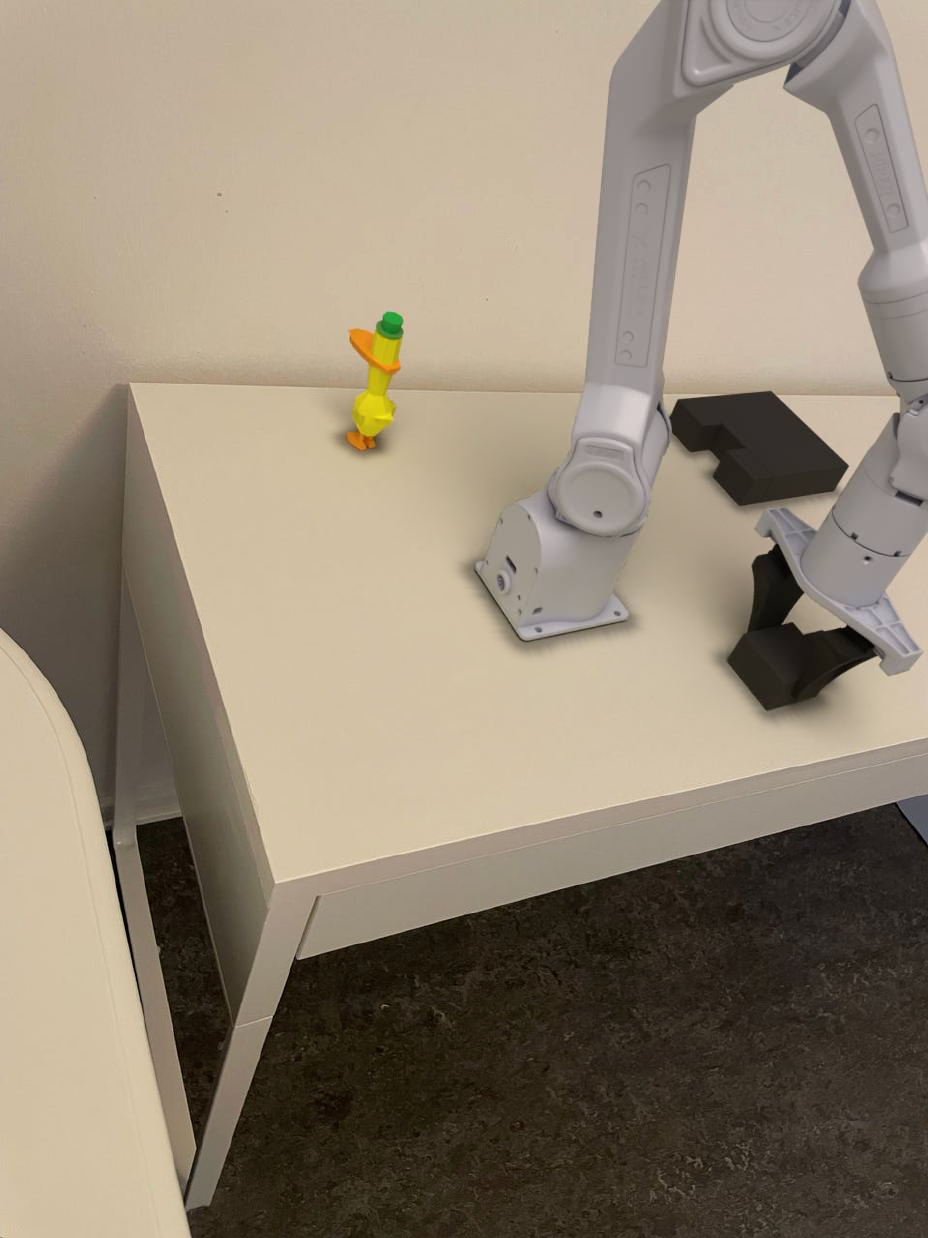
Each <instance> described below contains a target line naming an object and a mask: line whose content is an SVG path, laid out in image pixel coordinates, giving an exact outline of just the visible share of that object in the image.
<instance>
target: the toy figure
mask: <svg viewBox="0 0 928 1238" xmlns="http://www.w3.org/2000/svg"><path fill="white" fill-rule="evenodd" d="M404 323H405V321H404V318H403V316H402V315H400V313H397V312H395V311H386V312H385V313H383V314H382V319H380V320H379V321H377V323H376V325H375V329H374V331H373V333H372V331H370V330H366V329H361V328H357V327H355V328H350V329H347V331H348V333H349V343H350V344H351V346H352V348H353V349H354V350H355V351H356V352H357V354H358V355H359V356H360V357H361V358H362V359H363V360H364V361H366V363H368V370H367V388H366V389H365V390H364V391H363V392H361V393H360V394H359V395H358V396H356V397H355V398H354V401H353V407H352V412H351V413H350V416H351V418H352V419H353V421H354V424H355V426H356V427H357V431H356V432H355V431H349V432H347V433H346V439H347V441H348V442H349V444H351V445H352V446H353V447H355V448H356V449H358V450H360V451H361V452H362V451H365V450H367V447H368V448H369V449H372V448H376V443H375V440H374V437H375V436H377V435H378V434H379V433H381V432H382V431H383V430H384V429H385V428H387V427H388V426H389V425H390V424H392V423H393V422H394V421H395V419H394V418H393V417H394V415H395V412H396V410H397V406H396V404H395V402H394V401H393V399H391V400H390V398H389V397H388V394H387V391H388V389H389V386H390V384H391V381H392V378H393V375H396V374H397V373H398V372H399V371H400V370H401V368H402V365H401V362H400V358H399V356H400V351H401V346H402V343H403V342H402V341H403V337H404V333H405V332H404V331H405V330H404V328H403V327H402V326H403V324H404Z"/></svg>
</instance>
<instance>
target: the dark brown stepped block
mask: <svg viewBox="0 0 928 1238" xmlns="http://www.w3.org/2000/svg"><path fill="white" fill-rule="evenodd" d="M824 631H825V630H824V629H820V630H815V631H812V632H808V633H803V632H802V630H801V629H800V628H799V627H798V626H797V624H796V623H794V622H793V621H791V622H786V623H782V625H777V626H773V627H769V628H765V629H760V630H756V631H752V632H748V633H747V632H744V633H742V634H741V636H740V638H739V640H738V641H737V643H736V645H735V647H734V648H733V649H732V651H731V653H730V654H729V656H728V658H727V659H726V662H727V663H728V664H729V666H730V667H731V668H732V669H733V671H734V672H735V673H736V674H737V675H738V677H739V678H740V679H741V680H742V682H743V683H744V685H746V687H747V688H748V689H749V690H750V692H751V693H752V695H754V697H755V698H756V699H757V700H758V702H759V703H760V705H762V707H763V708H764V710H766V711H767V712H768V711H772V710H774V709H775V710H776V709H779V708H781V707H785V706H789V705H792V704H795V703H799V702H803V701H806V700H809V699H813V698H817V696H818V695H819V693H820V692H821V691H819V692H818V693H817V694H816V695H815V696H812V697H809V698H805V699H801V700H798V701H797V700H795V699H794V698H793V696H792V695H791V692H792V690H793V688H794V686H795V684H796V682H797V680H798V679H799V677H800V676H801V675H802V673H803V672H804V671H805V669H806V668H807V666H808V664H809V662H810V660H811V658H812V656H813V653H814V651H815V648H816V645H817V640H818V636H819V634H820V633H821V632H824Z"/></svg>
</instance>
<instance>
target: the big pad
mask: <svg viewBox="0 0 928 1238" xmlns="http://www.w3.org/2000/svg"><path fill="white" fill-rule="evenodd" d="M669 419H670V423H671V427H672V434H673V435H674V436H675V437H676V438H677V439H678V441H680V442H681V443H682V444H683V446H685V448H686V449H687V450H688V451H689V452H690V453H692V452H699V451H700V452H701V451H707V450H709V451H711V453H712V454H714V455H715V456H716V458H717V459H718V460H719V461H720V462H719V464H718V465H717V467H716V469H715V472H714V474H713V475H712V477H713V478H714V479H715V480H716V481H717V483H719V485H720V486H721V487H722V488H723V489H724V490H725V491H726V492H727V494H728V495H729V496H730V497H731V498H732V499H733V501H735V503H737V504H738V505H739V506H744V505H752V504H758V503H765V502H772V501H777V500H785V499H791V498H796V497H804V496H809V495H815V494H821V493H822V494H823V493H828V492H834V491H836V488H837V487H838V486H839V484H840V482H841V481H842V479H843V477H844V476H845V474H846V472H847V471H848V469H849V467H850V465H849V464H848V463H847V461H845V460H844V459H843V458H842V457H841V456H840V455H839V454H838V453H837V452H836V451H835V450H833V448H832V447H831V446H830V445H828V444H827V442H825V441H824V439H822V437H820V436H819V435H818V434H817V433H816V432H815V431H814V430H813V429H812V428H811V427H810V426H808V425H807V424H806V422H805V421H804V420H802V419H801V418H800V417H799V416H798V415H797V414H796V413H795V412H794V411H793V410H792V409H791V408H790V407H789V406H788V405H787V404H786V403H784V401H782V400H781V398H779V397H778V396H777V395H776V394H775V393H774V392H773V390H765V391H764V390H763V391H754V392H753V391H751V392H741V393H731V394H719V395H708V396H707V395H706V396H698V397H696V396H695V397H687V398H677V400H676V402H675V404H674V407H673V409H672V411H671V413H670V415H669Z"/></svg>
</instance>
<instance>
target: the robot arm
mask: <svg viewBox="0 0 928 1238" xmlns="http://www.w3.org/2000/svg"><path fill="white" fill-rule="evenodd" d="M879 7H880V6H879V4H878V1H877V0H660V1H659V2H658V3H657V5H656V6H655V7H654V9H653V10H652V11H651V13H650V14H649V16H648V17H647V19H646V20H645V21H644V22H643V24H642V25H641V26H640V27H639V29H638V30H637V32H636V34H635V35H634V36H633V37H632V39H631V40H630V42H629V43H628V45H626V47H625V48H624V50H623V52H622V53H621V54H620V56H619V57H618V58H617V60H616V62H615V63H614V65H613V67H612V70H611V75H610V79H609V84H608V95H607V105H606V108H607V109H606V119H605V130H604V131H605V133H604V144H603V153H602V154H603V156H602V166H601V167H602V168H601V178H600V179H601V181H600V192H599V193H600V194H599V203H598V217H597V229H596V240H595V241H596V242H595V250H594V251H595V252H594V262H593V263H594V264H593V265H594V266H593V277H592V287H591V288H592V289H591V290H592V291H591V301H590V313H589V326H588V337H587V351H586V361H585V372H584V382H583V386H582V391H581V395H580V399H579V403H578V407H577V411H576V414H575V418H574V423H573V427H572V430H571V439H570V448H569V450H568V453H567V454H566V457H565V459H564V460H563V462H562V463H561V465H560V466H558V467H557V468H555V470H554V471H553V473H552V474H551V475H550V477H549V480H548V482H547V483H546V484H545V485H544V486H543V487H542V488H541V489H539V490H537V491H536V492H535V493H534V494H532V495H530V496H527V497H525V498H523V499H521V500H518V501H514V502H511V503H509V504H507V505H506V506H505V507H504V508H503V509H502V510H501V512H500V514H499V516H498V518H497V522H496V524H495V528H494V531H493V534H492V536H491V539H490V542H489V545H488V548H487V552H486V555H485V557H484V560H479V561H477V562H476V563H475V565H474V570H475V571H476V572H477V574H478V575H479V577H480V579H481V580H482V581H483V583H484V585H485V586H486V588H487V589H488V591H489V592H490V594H491V596H492V597H493V598H494V600H495V602H496V603H497V604H498V606H499V608H500V610H501V611H502V613H504V615H505V617H506V618H507V620H508V622H509V623H510V625H511V626H512V627H513V629H514V631H515V632H516V633H517V635H518V636H519V638H520V639H521V640H523V641H534V640H538V639H543V638H546V637H547V638H548V637H552V636H556V635H562V634H566V633H571V632H575V631H579V630H584V629H585V630H586V629H589V628H594V627H599V626H603V625H608V624H613V623H618V622H623V621H626V620H628V618H629V616H630V614H629V611H628V610H627V608H626V607H625V606H624V604H623V603H622V601H621V600H620V598H618V596H617V595H616V594H615V592H614V590H615V587H616V586H617V585H616V584H617V583H618V580H619V578H620V576H621V574H622V573H623V571H624V568H625V565H626V563H627V561H628V559H629V557H630V555H631V553H632V551H633V549H634V546H635V545H636V542H637V540H638V538H639V536H640V534H641V531H642V529H643V527H644V525H645V523H646V521H647V519H648V516H649V511H650V509H649V508H650V505H651V499H652V497H651V496H652V491H653V488H654V485H655V482H656V479H657V476H658V472H659V470H660V467H661V464H662V461H663V458H664V457H665V454H666V452H667V450H668V448H669V446H670V444H671V441H672V435H673V432H672V427H671V423H670V419H669V417H670V415H669V414H668V412H667V409H666V407H665V403H664V402H665V401H664V391H665V390H664V389H665V383H666V382H665V381H666V379H665V373H664V369H663V368H664V363H665V362H664V361H665V355H666V347H667V339H668V332H669V325H670V318H671V317H670V316H671V310H672V302H673V297H674V296H673V295H674V288H675V281H676V272H677V264H678V259H679V252H680V242H681V235H682V228H683V221H684V213H685V205H686V197H687V190H688V184H689V177H690V176H689V175H690V170H691V169H690V168H691V162H692V154H693V147H694V140H695V139H694V138H695V131H696V124H697V116H698V115H699V114H700V113H701V112H703V111H704V110H705V109H706V108H708V107H710V105H712V104H713V103H714V102H716V101H717V100H718V99H720V98H721V97H722V96H724V94H726V93H727V92H728V91H730V90H731V89H733V88H734V86H735V85H736V84H739V83H741V82H744V81H747V80H751V79H754V78H756V77H759V76H763V75H765V74H768V73H771V72H774V71H777V70H779V69H782V68H784V67H787V66H789V68H788V69H787V72H786V76H785V79H784V82H783V85H782V89H783V90H784V91H785V92H786V93H788V94H789V95H791V96H793V97H795V98H797V99H798V100H800V101H802V102H804V103H806V104H808V105H809V106H811V107H813V108H815V109H817V110H819V111H820V112H823V113H824V114H825V115H826V117H827V118H828V120H829V123H830V126H831V128H832V131H833V134H834V137H835V140H836V143H837V145H838V148H839V151H840V154H841V157H842V160H843V163H844V166H845V169H846V172H847V175H848V177H849V180H850V183H851V187H852V190H853V192H854V196H855V198H856V201H857V204H858V206H859V209H860V213H861V216H862V218H863V222H864V224H865V227H866V230H867V233H868V236H869V239H870V242H871V245H872V247H873V250H872V252H871V254H870V256H869V257H868V260H867V261H866V263H865V264H864V266H863V268H862V269H861V271H860V273H859V275H858V277H857V281H856V282H857V283H856V284H857V287H858V291H859V295H860V297H861V301H862V303H863V307H864V310H865V313H866V316H867V319H868V323H869V326H870V329H871V332H872V335H873V339H874V342H875V345H876V348H877V351H878V352H877V353H878V354H879V358H880V361H881V364H882V367H883V371H884V373H885V377H886V380H887V383H889V385H890V386H891V387H892V389H894V391H895V394H896V396H897V397H898V398H899V411H898V412H897V411H896V412H893V413H892V414H891V416H890V418H889V420H888V421H887V423H886V424H885V425H884V427H883V429H882V431H881V432H880V434H879V435H878V437H877V439H876V440H875V442H874V443H873V444H872V445H871V446H870V447H869V448H868V449H867V451H866V452H865V454H864V455H863V458H862V459H861V461H860V462H859V464H858V465H857V468H856V469H855V470H854V472H853V473H852V475H851V477H850V478H849V480H848V481H847V483H846V485H845V487H844V488H843V489H842V491H841V493H840V494H839V496H838V498H837V499H836V501H835V502H834V504H833V505H832V507H831V508H830V510H829V512H828V513H827V515H826V516H825V518H824V519H823V520H822V521H823V522H822V523H821V524H820V526H819V528H818V529H815V528H814V527H812V526H811V525H809V523H807V522H805V521H804V520H802V519H801V518H799V517H798V516H797V515H796V514H794V513H793V512H792V510H790V509H789V508H788V506H787V505H782V506H781V505H780V506H774V507H768V508H765V509H764V510H763V512H762V514H761V516H760V517H759V519H758V521H757V523H756V524H755V526H754V531H755V532H756V533H757V534H758V535H759V536H760V537H761V538H763V539H767V538H769V539H770V540H771V541H772V542H773V543H774V545H773V546H772V548H771V549H770V550H768V552H767V553H761V554H758V555H756V556H755V557H754V560H753V561H752V563H751V565H750V566H751V571H752V579H753V599H752V605H751V606H752V607H751V613H750V617H749V622H748V626H747V630H746V633H748V632H752V631H756V630H760V629H765V628H769V627H773V626H777V625H782V624H784V622H785V620H786V619H787V618H788V615H789V614H790V612H791V611H792V609H793V608H794V607H795V605H796V604H797V603H798V602H799V600H800V599H801V598H802V596H803V595H804V594H805V595H806V596H808V597H809V598H810V599H811V600H812V601H814V602H815V603H816V604H818V605H819V606H820V607H822V608H823V609H825V610H826V611H828V612H829V613H830V614H831V615H833V616H835V618H837V619H839V620H840V621H841V622H843V623H844V624H845V626H844V627H837V628H833V629H828V630H823V631H824V632H821V633H820V634H819V636H818V640H817V645H816V648H815V651H814V653H813V656H812V658H811V660H810V662H809V664H808V666H807V668H806V669H805V671H804V672H803V673H802V675H801V676H800V677H799V679H798V680H797V682H796V684H795V686H794V688H793V690H792V692H791V695H792V696H793V698H794V699H795V700H797V701H798V700H801V699H805V698H809V697H812V696H815V695H816V694H817V693H818V692H819V691H820V692H821V691H822V690H823V689H824V688H825V687H827V686H828V685H829V684H831V683H832V682H833V681H834V680H836V679H837V678H839V677H840V676H842V675H843V674H846V673H847V672H849V671H850V670H852V669H853V668H856V667H857V666H860V665H861V664H863V663H866V662H868V661H869V660H872V659H875V658H876V657H878V658H879V659H880V660H881V661H880V662H879V664H878V667H879V668H880V669H881V670H882V672H884V674H885V675H886V676H887V677H893V676H896V675H900V674H903V673H905V672H906V673H907V672H909V671H910V670H911V669H912V667H913V666H914V665H915V664H916V662H917V661H918V660H919V658H920V657H922V655H923V654H924V650H923V649H922V647H921V646H920V645H919V644H918V643H917V641H916V640H915V639H914V637H913V636H912V635H911V633H910V632H909V630H908V629H907V627H906V625H905V624H904V622H903V620H902V618H901V616H900V614H899V613H898V611H897V609H896V608H895V606H894V603H893V602H892V600H891V599H890V597H889V594H888V593H887V591H886V590H888V588H889V586H890V585H891V584H892V582H893V581H894V579H895V578H896V576H897V575H898V574H899V572H900V571H901V569H902V568H903V566H904V565H905V564H906V562H908V560H909V559H910V557H911V556H912V554H913V553H914V552H915V550H916V549H917V548H918V546H919V545H920V543H921V542H922V541H923V539H924V538H925V537H926V535H927V534H928V191H927V188H926V182H925V178H924V175H923V170H922V165H921V161H920V157H919V152H918V149H917V144H916V143H917V142H916V139H915V136H914V131H913V127H912V122H911V119H910V114H909V110H908V105H907V101H906V97H905V92H904V88H903V84H902V79H901V75H900V71H899V66H898V61H897V58H896V57H897V56H896V54H895V53H896V52H895V48H894V45H893V42H892V39H891V36H890V33H889V30H888V28H887V25H886V23H885V20H884V18H883V15H882V12H881V10H880V8H879ZM820 692H819V693H820ZM819 693H818V694H819Z"/></svg>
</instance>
